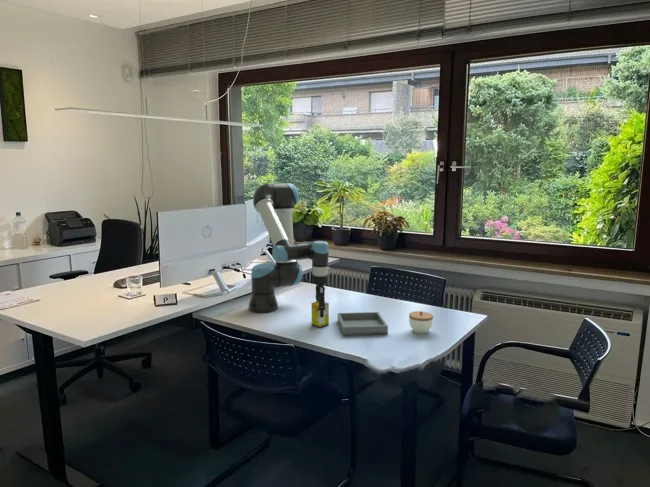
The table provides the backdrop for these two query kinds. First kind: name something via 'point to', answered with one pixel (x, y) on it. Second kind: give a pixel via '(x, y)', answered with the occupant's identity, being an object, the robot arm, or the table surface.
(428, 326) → the lidded jar
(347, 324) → the desk tray
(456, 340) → the table surface
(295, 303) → the table surface
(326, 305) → the supplement box
